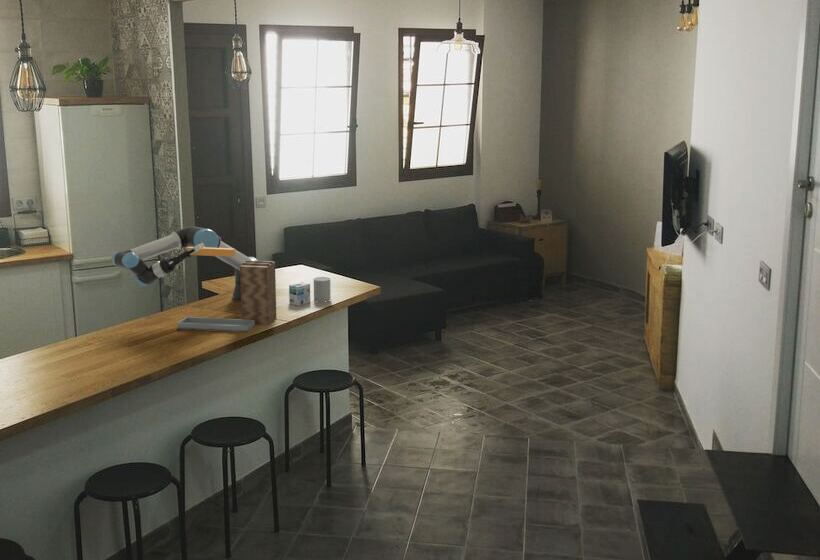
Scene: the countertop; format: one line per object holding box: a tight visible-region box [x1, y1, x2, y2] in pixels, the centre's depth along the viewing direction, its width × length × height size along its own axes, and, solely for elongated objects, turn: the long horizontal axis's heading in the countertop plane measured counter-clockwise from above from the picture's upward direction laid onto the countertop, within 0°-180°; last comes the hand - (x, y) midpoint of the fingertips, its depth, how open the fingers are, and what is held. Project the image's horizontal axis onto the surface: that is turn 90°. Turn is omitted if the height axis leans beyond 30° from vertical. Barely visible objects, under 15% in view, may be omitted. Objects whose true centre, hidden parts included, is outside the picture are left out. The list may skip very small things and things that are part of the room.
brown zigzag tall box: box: [240, 260, 277, 326], centre depth 446 cm, size 14×14×31 cm
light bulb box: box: [288, 281, 311, 306], centre depth 485 cm, size 11×7×11 cm, turn 143°
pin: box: [185, 247, 236, 257], centre depth 430 cm, size 24×4×4 cm, turn 82°
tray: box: [176, 316, 256, 333], centre depth 437 cm, size 36×12×3 cm, turn 82°
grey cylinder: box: [312, 276, 332, 303], centre depth 492 cm, size 10×10×12 cm
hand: (201, 245), depth 430 cm, fingers closed on pin, 3 cm apart
